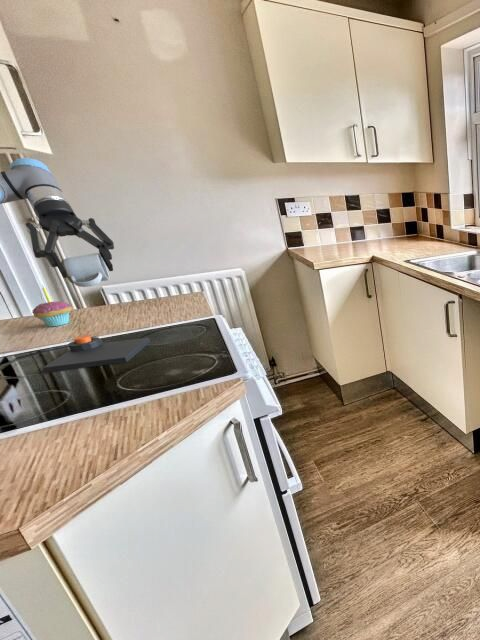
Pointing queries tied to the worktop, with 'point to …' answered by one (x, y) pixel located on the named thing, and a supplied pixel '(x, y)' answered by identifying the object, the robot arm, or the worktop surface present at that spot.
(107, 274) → the ceramic mug
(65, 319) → the cupcake
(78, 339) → the button
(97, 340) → the scale
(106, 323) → the worktop surface
